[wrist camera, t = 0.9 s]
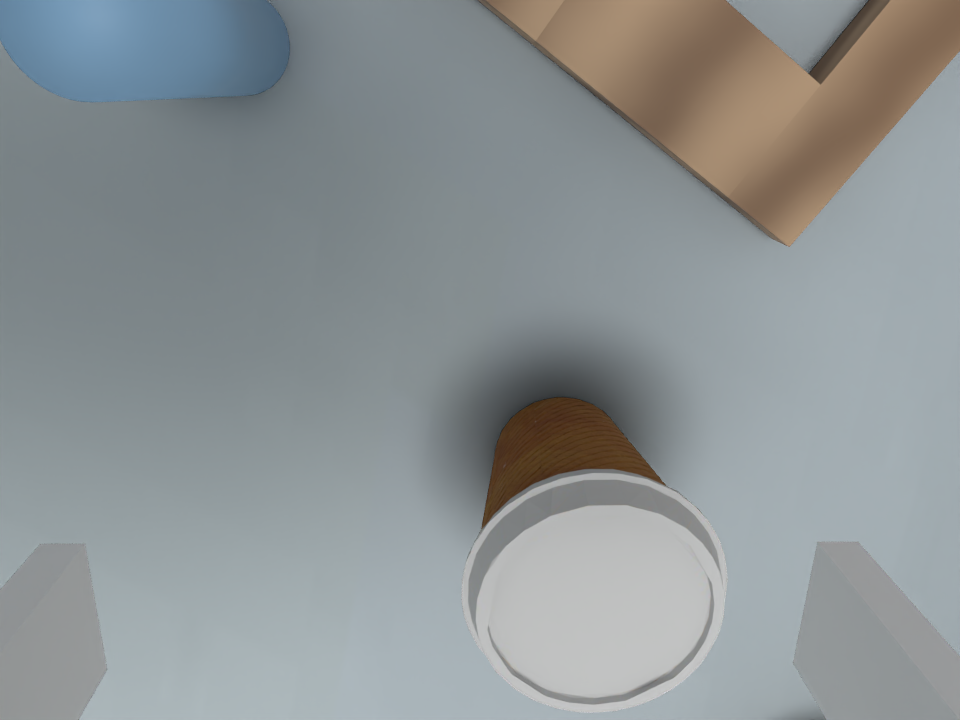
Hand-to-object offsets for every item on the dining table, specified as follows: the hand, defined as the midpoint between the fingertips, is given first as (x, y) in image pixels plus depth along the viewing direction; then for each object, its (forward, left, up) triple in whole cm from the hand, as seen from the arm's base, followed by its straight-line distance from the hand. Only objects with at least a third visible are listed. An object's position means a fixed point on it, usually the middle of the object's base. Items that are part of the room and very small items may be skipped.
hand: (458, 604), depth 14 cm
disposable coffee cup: (+9, -4, -22) cm, 24 cm away
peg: (-13, +3, -22) cm, 26 cm away
